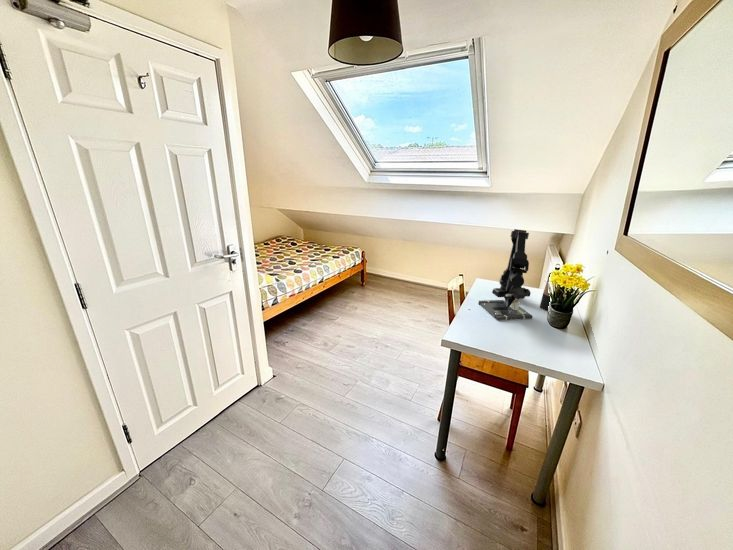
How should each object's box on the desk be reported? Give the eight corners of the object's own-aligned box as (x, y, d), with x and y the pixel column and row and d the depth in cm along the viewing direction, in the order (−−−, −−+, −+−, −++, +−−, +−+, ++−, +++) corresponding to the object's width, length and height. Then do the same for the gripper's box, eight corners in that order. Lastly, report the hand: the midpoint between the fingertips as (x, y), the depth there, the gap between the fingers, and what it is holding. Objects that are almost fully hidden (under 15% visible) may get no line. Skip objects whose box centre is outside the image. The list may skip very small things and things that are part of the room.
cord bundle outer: (495, 318, 151) (495, 315, 151) (529, 316, 155) (530, 313, 154) (497, 320, 149) (498, 317, 149) (532, 318, 153) (533, 315, 152)
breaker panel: (480, 305, 164) (481, 302, 164) (512, 304, 168) (513, 301, 167) (494, 318, 151) (495, 315, 151) (529, 316, 155) (530, 313, 154)
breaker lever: (508, 305, 162) (510, 297, 160) (512, 305, 162) (514, 297, 160) (514, 310, 157) (516, 301, 155) (518, 309, 158) (520, 301, 156)
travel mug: (550, 305, 168) (561, 273, 161) (557, 312, 161) (568, 278, 154) (536, 304, 169) (546, 271, 162) (542, 310, 162) (553, 277, 155)
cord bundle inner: (478, 303, 167) (478, 300, 166) (510, 302, 170) (510, 299, 169) (480, 305, 165) (480, 301, 164) (512, 304, 168) (513, 300, 167)
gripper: (507, 286, 144) (500, 314, 150) (541, 285, 148) (533, 313, 153) (494, 277, 155) (488, 304, 160) (526, 277, 158) (519, 303, 163)
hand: (507, 306), depth 159 cm, fingers closed
